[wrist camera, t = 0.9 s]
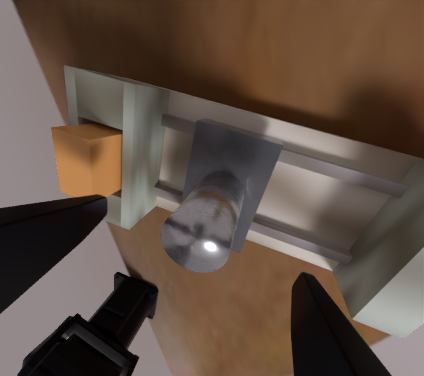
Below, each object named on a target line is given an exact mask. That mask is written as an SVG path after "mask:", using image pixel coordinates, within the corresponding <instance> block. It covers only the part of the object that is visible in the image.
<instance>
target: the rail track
mask: <svg viewBox="0 0 424 376" xmlns="http://www.w3.org/2000/svg"><path fill="white" fill-rule="evenodd" d="M64 75H65V84H66V94H67V104H68V114H69V124H70V126H71V125H81V124H92V123H98V124H101V125H104V126H107V127H110V128H114V129H117V130H120V131H123V146H122V189H120V190H118V191H117V192H115V193H113V194H111V195H109V196H108V197H106V198H107V201H108V212H107V215H106V216H105V218H104V219H103V220H105V221H108V222H110V223H113V224H115V225H118V226H120V227H123V228H125V229H128V230H129V229H130V228H131V227H133V226H134V225H135V224H136V223H137V222H138V221H139V220H140V219H142V218H143V217H144V216H145V215H146V214H147V213H148V212H150V211H151V210H152V209H153V208H154V207H155V206H159V207H161V208H164V209H167V210H169V211H172V212H174V211H175V210H176V209H177V208H178V207H179V205H180V204H181V201H182V196H183V191H184V185H185V180H186V175H187V169H188V164H189V159H190V154H191V148H192V143H193V138H194V133H195V127H196V122H197V120H201V119H206V118H207V119H211V120H214V121H217V122H221V123H224V124H228V125H231V126H235V127H238V128H242V129H245V130H249V131H252V132H256V133H259V134H263V135H266V136H270V137H273V138H277V139H280V140H281V141H282V143H283V145H284V146H283V148H282V151H281V153H280V155H279V158H278V160H277V163H276V165H275V168H274V170H273V172H272V175H271V177H270V180H269V182H268V185H267V187H266V189H265V192H264V194H263V197H262V199H261V202H260V204H259V207H258V209H257V211H256V214H255V216H254V219H253V221H252V224H251V226H250V228H249V231H248V233H247V236H246V238H245V239H248V240H250V241H253V242H256V243H258V244H261V245H264V246H266V247H269V248H272V249H275V250H277V251H280V252H283V253H285V254H288V255H291V256H293V257H296V258H299V259H302V260H304V261H307V262H310V263H312V264H315V265H318V266H320V267H323V268H326V269H329V270H331V271H333V273H334V275H335V278H336V280H337V283H338V285H339V288H340V290H341V293H342V295H343V298H344V300H345V303H346V305H347V308H348V310H349V313H350V315H351V318H352V319H353V320H355V321H358V322H360V323H363V324H365V325H368V326H370V327H373V328H375V329H378V330H380V331H383V332H385V333H388V334H390V335H393V336H396V337H398V338H400V339H403V338H405V337H406V336H407V335H408V334H410V333H411V332H412V331H414V330H415V329H416V328H418V327H419V326H420V325H422V324H423V323H424V159H423V158H419V157H415V156H412V155H408V154H404V153H401V152H397V151H393V150H390V149H386V148H382V147H379V146H375V145H371V144H368V143H364V142H360V141H357V140H353V139H349V138H346V137H342V136H338V135H335V134H331V133H327V132H324V131H320V130H316V129H313V128H309V127H305V126H302V125H298V124H294V123H291V122H287V121H283V120H280V119H276V118H272V117H269V116H265V115H261V114H258V113H254V112H250V111H246V110H243V109H239V108H235V107H232V106H228V105H224V104H221V103H217V102H213V101H210V100H206V99H202V98H199V97H195V96H191V95H188V94H184V93H180V92H177V91H173V90H169V89H166V88H162V87H158V86H155V85H151V84H147V83H144V82H140V81H136V80H133V79H129V78H125V77H120V76H115V75H110V74H105V73H100V72H96V71H91V70H86V69H81V68H76V67H71V66H67V65H64Z"/></svg>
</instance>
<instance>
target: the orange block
mask: <svg viewBox="0 0 424 376" xmlns="http://www.w3.org/2000/svg"><path fill="white" fill-rule="evenodd" d="M51 129H52V136H53V144H54V150H55V157H56V164H57V171H58V178H59V185H60V191H61V192H62V193H65V194H67V195H70V196H72V197H81V196H88V195H95V194H99V195H102V196H105V197H108V196H109V195H111V194H113V193H115V192H117V191H118V190H120V189H122V146H123V131H120V130H117V129H114V128H110V127H107V126H104V125H101V124H98V123H92V124H81V125H71V126H60V127H52V128H51Z"/></svg>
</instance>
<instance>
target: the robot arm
mask: <svg viewBox="0 0 424 376" xmlns="http://www.w3.org/2000/svg"><path fill="white" fill-rule="evenodd" d="M107 212H108V201H107V198H106V197H105V196H102V195H99V194H95V195H88V196H81V197H74V198H67V199H60V200H53V201H47V202H39V203H33V204H26V205H19V206H12V207H5V208H0V314H1V313H2V312H3V311H4V310H5V309H6V308H7V307H9V306H10V305H11V304H12V303H13V302H14V301H15V300H16V299H18V298H19V297H20V296H21V295H22V294H23V293H24V292H26V291H27V290H28V289H29V288H30V287H31V286H32V285H33V284H35V282H37V281H38V280H39V279H40V278H41V277H42V276H44V275H45V274H46V273H47V272H48V271H49V270H50V269H52V268H53V267H54V266H55V265H56V264H57V263H58V262H59V261H61V260H62V259H63V258H64V257H65V256H66V255H67V254H68V253H70V252H71V251H72V250H73V249H74V248H75V247H76V246H77V245H79V244H80V243H81V242H82V241H83V240H84V239H85V238H86V237H87V235H89V234H90V232H91V231H92V230H93V229H94V228H95V227H96V226H97V225H98V224H99V223H100V222H101V220H103V219H104V218H105V216H106V215H107ZM157 297H158V290H157V289H156V288H154V287H152V286H149V285H147V284H145V283H143V282H140V281H138V280H136V279H133V278H131V277H129V276H127V275H124V274H122V273H120V272H117V273H116V274H115V275H114V291H113V292H112V293H111V294H110V295H109V296H108V298H107V299H106V300H105V301H104V303H103V304H102V305H101V306H100V307H99V309H98V310H97V311H96V312H95V313H94V314H93V316H92V317H91V318H90V319H89V321H88V322H87V321H86V320H85V319H83V318H82V317H81V315H79V314H78V313H77V314H76V315H75V316H74V317H72V316H69V317H68V318H67V319H66V320H65V321H64V322H63V323H62V324H61V325H60V326H59V327H58V328H57V329H56V330H55V331H54V332H53V333H52V334H51V335H50V336H49V337H47V338H46V339H45V340H44V341H43V342H42V343H41V344H39V345H38V346H37V347H36V348H35V349H34V350H33V351H32V352H31V353H29V354H28V355H27V356H26V357H25V359H24V360H23V365H22V369H21V370H20V372H19V373H18V375H17V376H131V375H132V373H133V371H134V368H135V366H136V364H137V361H138V359H139V357H138V356H137V355H134V354H132V353H131V352H129V351H128V350H127V349H128V348H129V346H130V344H131V342H132V341H133V339H134V337H135V335H136V334H137V332H138V330H139V329H140V327H141V325H142V323H143V322H144V320H145V318H146V317H147V318H150V319H153V317H154V315H155V309H156V303H157ZM67 337H69V338H68V339H67V340H66V338H67ZM291 342H292V355H293V368H294V376H391V374H390V373H389V372H388V370H387V369H386V368H385V367H384V365H383V364H382V363H381V361H380V360H379V359H378V358H377V356H376V355H375V354H374V352H373V351H372V350H371V349H370V347H369V346H368V345H367V343H366V342H365V341H364V340H363V338H362V337H361V336H360V334H359V333H358V332H357V331H356V329H355V328H354V327H353V325H352V324H351V323H350V322H349V320H348V319H347V318H346V316H345V315H344V314H343V313H342V311H341V310H340V309H339V307H338V306H337V305H336V304H335V302H334V301H333V300H332V298H331V297H330V296H329V295H328V293H327V292H326V291H325V289H324V288H323V287H322V286H321V284H320V283H319V282H318V280H317V279H316V278H315V277H314V276H313V275H311V274H309V273H306V272H301V273H300V275H299V276H298V278H297V279H296V281H295V282H294V284H293V286H292V300H291Z"/></svg>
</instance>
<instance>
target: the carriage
mask: <svg viewBox="0 0 424 376" xmlns="http://www.w3.org/2000/svg"><path fill="white" fill-rule="evenodd" d="M283 146H284V145H283V143H282V141H281V140H280V139H277V138H273V137H270V136H266V135H263V134H259V133H256V132H252V131H249V130H245V129H242V128H238V127H235V126H231V125H228V124H224V123H221V122H217V121H214V120H211V119H207V118H206V119H201V120H197V122H196V127H195V133H194V138H193V143H192V148H191V154H190V159H189V164H188V169H187V175H186V180H185V185H184V191H183V196H182V201H181V204H180V205H179V207H178V208H177V209H176V210H175V211H174V212H173V213H172V214H171V216H170V217H169V218H168V219H167V220H166V221H165V222H164V224H163V226H162V229H161V241H162V244H163V247H164V249H165V251H166V252H167V254H168V255H169V256H170V257H171V258H172V259H173V260H174V261H175V262H176V263H177V264H179V265H180V266H182V267H184V268H186V269H189V270H191V271H195V272H212V271H215V270H218V269H219V268H221V267H222V266H223V265H224V264H225V263H226V262H227V260H228V258H229V254H230V250H233V251H236V252H239V253H240V250H241V248H242V245H243V243H244V241H245V238H246V236H247V233H248V231H249V228H250V226H251V224H252V221H253V219H254V216H255V214H256V211H257V209H258V207H259V204H260V202H261V199H262V197H263V194H264V192H265V189H266V187H267V185H268V182H269V180H270V177H271V175H272V172H273V170H274V168H275V165H276V163H277V160H278V158H279V155H280V153H281V151H282V148H283Z"/></svg>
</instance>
